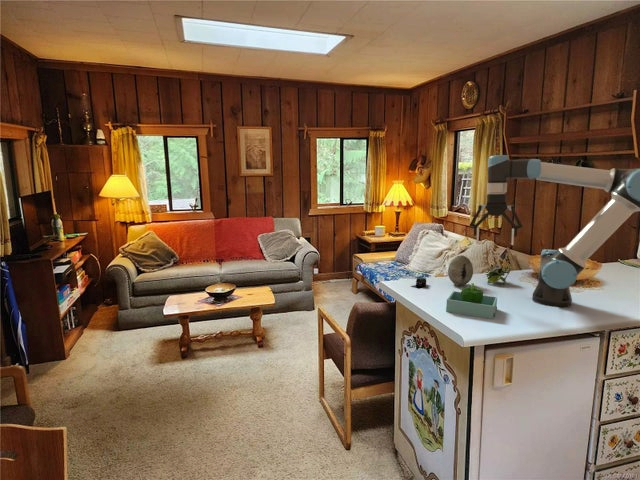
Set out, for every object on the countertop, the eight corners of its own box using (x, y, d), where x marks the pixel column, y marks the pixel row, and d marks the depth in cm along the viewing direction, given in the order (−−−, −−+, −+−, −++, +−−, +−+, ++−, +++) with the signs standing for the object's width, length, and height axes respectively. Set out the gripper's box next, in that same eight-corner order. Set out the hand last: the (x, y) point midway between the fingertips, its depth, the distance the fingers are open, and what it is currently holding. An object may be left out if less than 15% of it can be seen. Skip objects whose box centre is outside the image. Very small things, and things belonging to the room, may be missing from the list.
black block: (423, 283, 210) (424, 274, 209) (435, 287, 204) (435, 278, 203) (406, 287, 203) (407, 278, 202) (418, 291, 197) (418, 281, 196)
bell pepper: (478, 313, 159) (479, 288, 157) (457, 308, 164) (458, 284, 163) (485, 308, 165) (487, 283, 164) (464, 303, 171) (466, 280, 169)
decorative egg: (445, 281, 212) (446, 252, 209) (468, 282, 211) (470, 253, 208) (450, 287, 200) (452, 257, 198) (474, 288, 199) (477, 258, 197)
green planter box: (497, 309, 167) (498, 297, 166) (494, 319, 155) (495, 306, 154) (451, 302, 175) (452, 290, 174) (445, 311, 163) (445, 299, 163)
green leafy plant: (492, 291, 214) (500, 271, 217) (510, 293, 204) (518, 272, 207) (478, 281, 210) (487, 260, 213) (495, 282, 200) (504, 261, 203)
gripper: (529, 192, 169) (527, 243, 173) (465, 193, 180) (464, 241, 183) (530, 193, 163) (528, 246, 166) (464, 193, 173) (462, 243, 176)
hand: (494, 243), depth 174 cm, fingers open, 13 cm apart
